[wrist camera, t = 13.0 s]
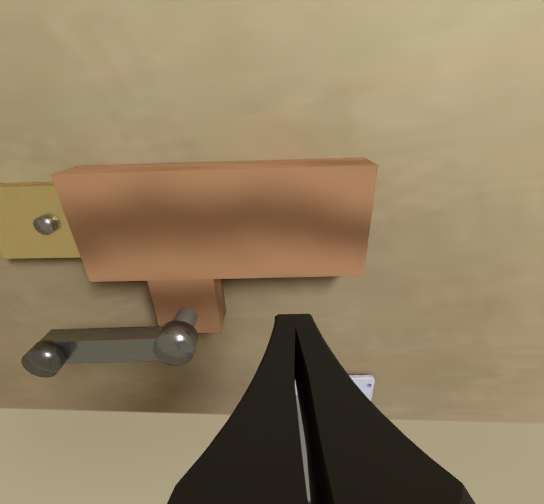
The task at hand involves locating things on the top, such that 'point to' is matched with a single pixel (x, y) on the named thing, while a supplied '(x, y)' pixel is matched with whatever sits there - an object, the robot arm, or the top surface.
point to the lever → (112, 346)
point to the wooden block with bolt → (34, 222)
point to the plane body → (217, 226)
